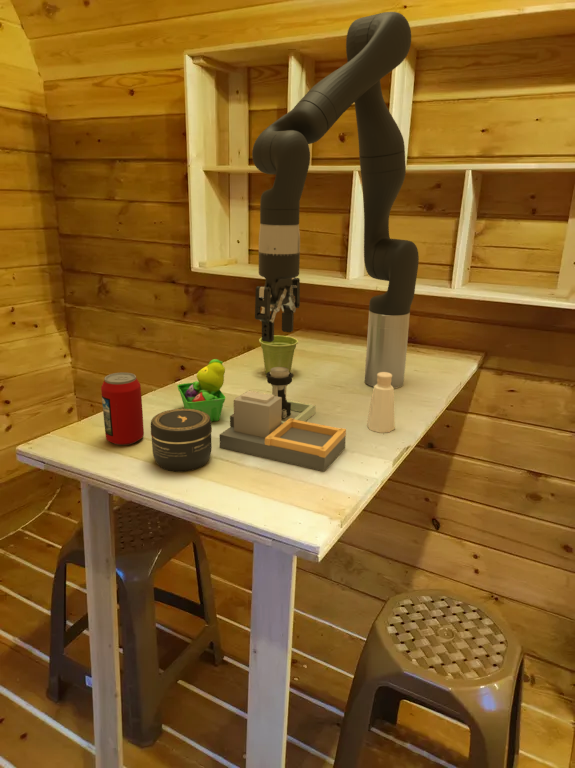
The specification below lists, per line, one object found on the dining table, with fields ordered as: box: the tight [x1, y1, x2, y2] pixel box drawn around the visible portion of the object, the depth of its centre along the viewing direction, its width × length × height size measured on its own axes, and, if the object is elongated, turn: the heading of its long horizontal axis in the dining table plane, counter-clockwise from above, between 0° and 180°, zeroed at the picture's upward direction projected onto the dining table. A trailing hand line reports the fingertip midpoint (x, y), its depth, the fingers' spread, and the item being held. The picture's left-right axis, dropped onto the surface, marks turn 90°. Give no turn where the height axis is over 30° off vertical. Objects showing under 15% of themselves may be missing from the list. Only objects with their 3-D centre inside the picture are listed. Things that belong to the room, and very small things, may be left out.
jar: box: [150, 408, 213, 473], centre depth 98 cm, size 10×10×8 cm
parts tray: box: [281, 399, 316, 423], centre depth 117 cm, size 12×12×2 cm
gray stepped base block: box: [219, 390, 347, 472], centre depth 103 cm, size 10×20×9 cm, turn 65°
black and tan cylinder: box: [265, 367, 294, 419], centre depth 116 cm, size 7×5×10 cm
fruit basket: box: [176, 358, 226, 423], centre depth 117 cm, size 11×9×11 cm
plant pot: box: [258, 334, 299, 374], centre depth 142 cm, size 9×9×9 cm
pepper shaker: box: [366, 372, 396, 434], centre depth 112 cm, size 5×5×11 cm
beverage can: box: [100, 372, 145, 446], centre depth 105 cm, size 7×7×12 cm
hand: (277, 336), depth 112 cm, fingers open, 8 cm apart
